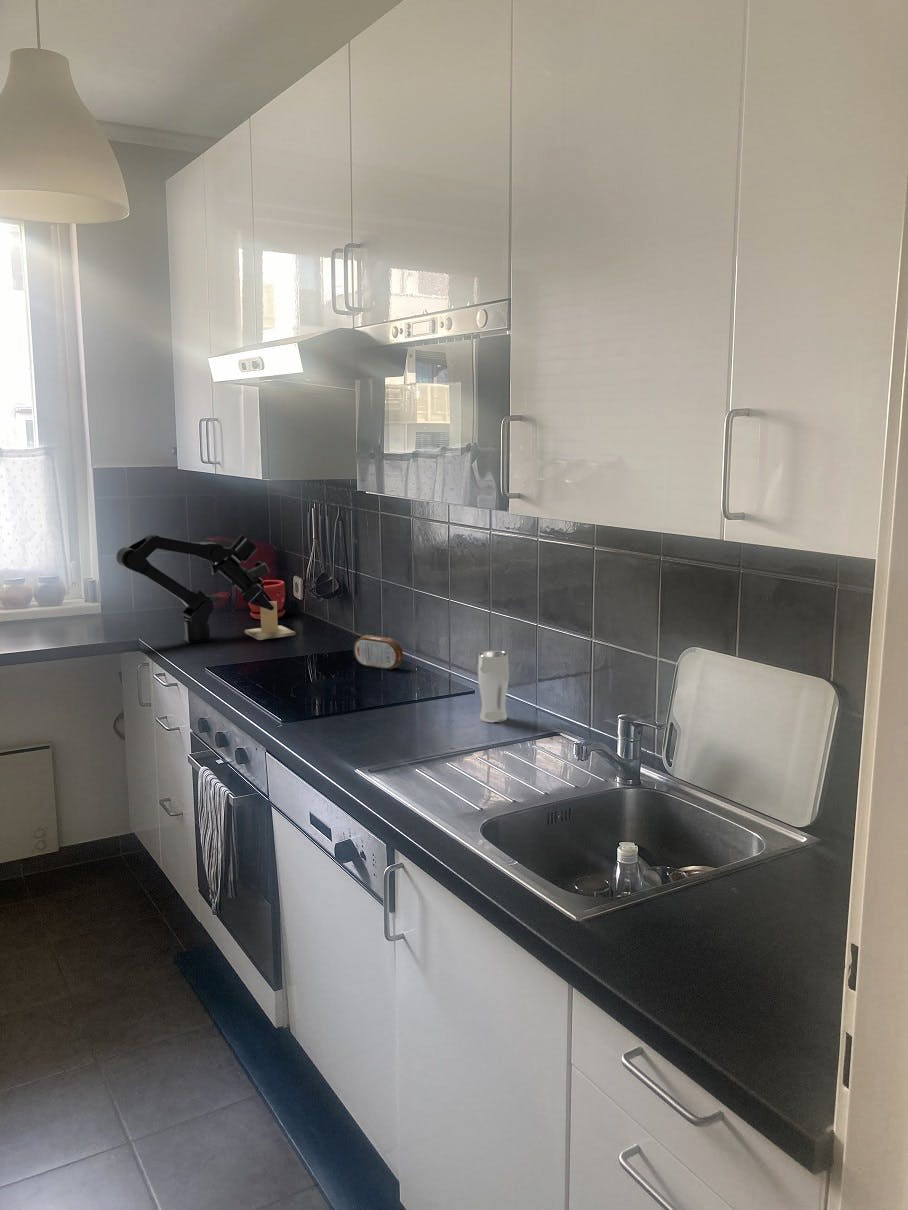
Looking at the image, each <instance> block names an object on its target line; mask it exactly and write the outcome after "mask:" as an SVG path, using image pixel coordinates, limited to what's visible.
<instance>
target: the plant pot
mask: <svg viewBox="0 0 908 1210" xmlns="http://www.w3.org/2000/svg"><path fill="white" fill-rule="evenodd" d="M263 582H264V590H265V591H266V593H267V594H268V595H269V597H270V598H271V600H272V601H277V619H278V618H281V617H283V616H284V614H285V612H286V610H285V609H284V608H283V606H284V603H285V599H286V598H285V597H286V586H285V582H284V581H283V580H280V579H279V580H278V579H266V580H263V581H262V582H260V583H259V585H261V584H262V583H263ZM247 604H248V606H249V608H250V610H251V611H250V613H249V615H250V616H251V617H252V618H253V619H256V620H261V613H260V606H257V605H254V604H250V603H247Z"/></svg>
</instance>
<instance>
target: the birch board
mask: <svg viewBox="0 0 908 1210" xmlns="http://www.w3.org/2000/svg"><path fill="white" fill-rule="evenodd" d="M244 633H245V634H246V635H248V636H250V637H252V638H254V639H255V640H258V641H262V640H267V639H276V638H285V637H292V636H296V631H294V630H291V629H290V628H288V627H285V626H283V625H278V632H274V633H261V627H258V628H250V629H244Z"/></svg>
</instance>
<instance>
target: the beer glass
mask: <svg viewBox="0 0 908 1210" xmlns="http://www.w3.org/2000/svg"><path fill="white" fill-rule="evenodd" d="M509 677H510V665H509V653H508V652H507V651H504V650H495V649H493V650H489V649H488V650H484V651H479V652H478V660H477V682H478V689H479V694H480V699H481V710H480V713H479V714H480V715H479V720H480V721H482V722H485V723H489V722H490V723H493V724H495V723H494V722H499V723H503V722H505V721H507V719H508V716H507V711H506V710H507V709H506V697H507V692H508V688H509V687H508V685H509Z"/></svg>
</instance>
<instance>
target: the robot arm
mask: <svg viewBox="0 0 908 1210" xmlns="http://www.w3.org/2000/svg"><path fill="white" fill-rule="evenodd" d="M156 550H164V551H169V552H176V553H181V554H186V555H192V556H195V557H197V558H200V559H202V560H205V561H208V562H212V563H215V564H212V565H210V568H211V575H215V574H216V573H217V572H219V573H220V574H221V575H223V577H224V578H226V579H227V580H228V581H229V582H230V584H231V585H232V586H234V587H236V588H237V589H238V590H239V591H241V592H240V593H241V594H242V600H243V601H244V602H245V603H246V604H248V603H250V604H254V605H257V606H260V607H263V608H266V609H269V610H273V609H274V607H273V606H272V604H271V603H270V602H269V601H272V600H271V598H270V597H269V595H268V594H267V593H266V591H265V590H264V582H263V583H262V584H261V585H259V583H260V582H262V581H264V580H263V578H262V577H263V576H266V575H269V574H270V573H271V571H270V568H269V567H268V566H267V563H266V562H261V561H260V560H259V561H256V562H254V567H252V568H250V569H248V568H246V567H243V566H242V565H240V563H242V562H243V563H246V562H247V561H248V560H249V559H250V558H251V557H252V555H254V554H255V552H257V550H258V548H257V546H256V545H255V544H254V543H253V542H252V541H250V540H249V539H248V538H246V537H245V536H243V535H241V534H239V535H238V537H236V540H234V542H233V543H232V544H231V545H230V546H226V545H225V546H223V545H221V544H219V543H216V542H212V541H196V542H195V541H192V542H191V541H189V540H188V541H187V540H181V539H178V538H177V539H176V538H171V537H165V536H160V535H156V534H152V533H150V534H148V535H146V536H145V537H143V538H142V539H139V540H138V541H136V542H134V543H133V544H131V545H129V546H128V547H126V546H125V547H122V548H120V549H119V550H118V551H117V552H116V562H117V563H118V564H119V565H120V566H122V567H124V568H126V569H128V570H131V571H133V572H136V573H138V574H141V575H143V576H144V577H146V579H148V580H150V581H151V582H153V583H155V584H157V586H159V587H160V588H162V589H164V590H166V591H167V592H168V593H170V594H171V595H172V596H174V597H176V598H177V599H179V600H180V601H181V602H182V604H183V605H185V608H184V610H183V611H182V612H181V616H182V618H183V620H184V622H183V623H184V637H183V641H185V642H186V643H189V644H195V643H201V642H210V641H211V638H210V637H211V633H210V632H211V631H210V630H211V629H210V624H209V623H208V622H209V619H210V615H211V614H212V613H213V611H214V602H213V600H211V596H208V595H207V594H205V593H204V592H203V591H202V590H201V589H198V588H195V587H192V590H189V589H188V588H186V587H184V586H183V585H182V584H181V583H179V582H178V581H176V580H174V579H173V578H172V577H170V576H168V575H167V574H165V573H164V572H162V571H160V570H159V569H158V568H157V567H155V566H154V565H152V564H151V563H150V562H149V560H148V559H147V558H148V557H149V556H150V555H152V554H153V552H154V551H156Z"/></svg>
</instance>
